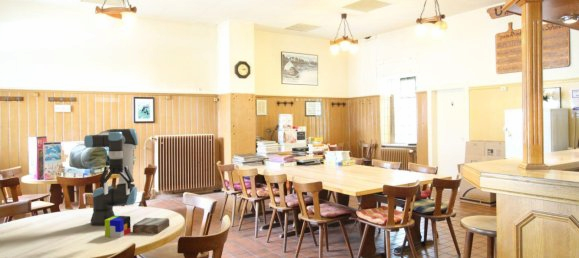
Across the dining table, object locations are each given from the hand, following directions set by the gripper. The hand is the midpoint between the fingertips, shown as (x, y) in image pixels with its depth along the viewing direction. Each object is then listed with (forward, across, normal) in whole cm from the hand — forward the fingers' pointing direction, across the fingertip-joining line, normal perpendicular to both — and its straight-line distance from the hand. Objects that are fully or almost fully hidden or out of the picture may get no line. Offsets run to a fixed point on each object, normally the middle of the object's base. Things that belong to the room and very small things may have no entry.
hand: (117, 194), depth 236 cm
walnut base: (+24, +15, +12) cm, 31 cm away
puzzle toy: (+24, 0, 0) cm, 24 cm away
